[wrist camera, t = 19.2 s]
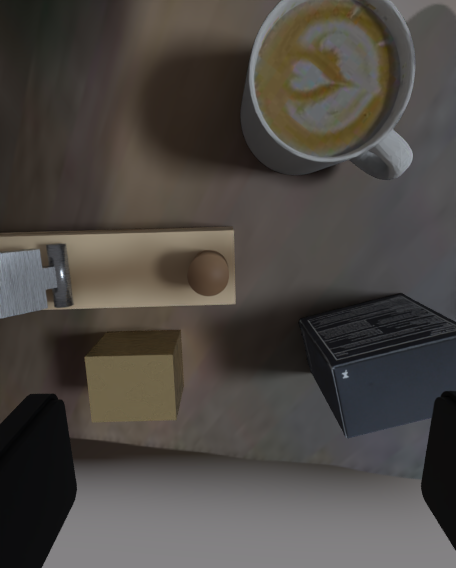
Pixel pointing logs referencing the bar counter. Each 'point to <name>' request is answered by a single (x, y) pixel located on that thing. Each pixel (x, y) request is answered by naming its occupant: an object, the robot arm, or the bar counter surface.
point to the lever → (34, 280)
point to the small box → (381, 361)
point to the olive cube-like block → (135, 376)
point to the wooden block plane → (140, 265)
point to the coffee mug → (329, 87)
